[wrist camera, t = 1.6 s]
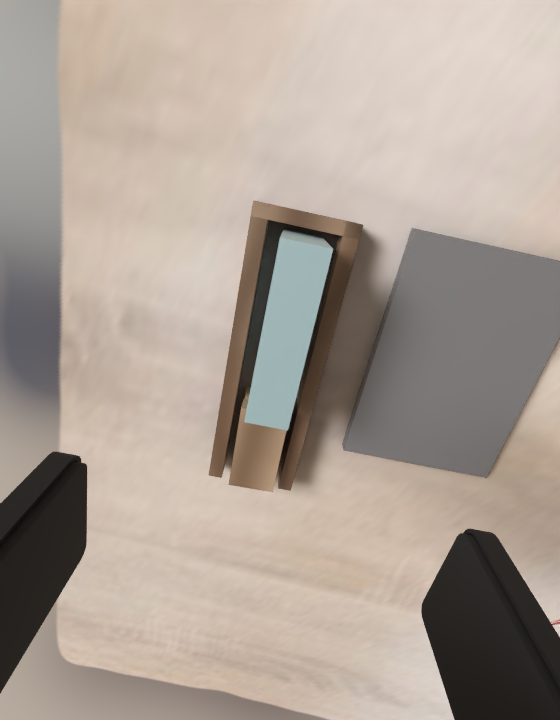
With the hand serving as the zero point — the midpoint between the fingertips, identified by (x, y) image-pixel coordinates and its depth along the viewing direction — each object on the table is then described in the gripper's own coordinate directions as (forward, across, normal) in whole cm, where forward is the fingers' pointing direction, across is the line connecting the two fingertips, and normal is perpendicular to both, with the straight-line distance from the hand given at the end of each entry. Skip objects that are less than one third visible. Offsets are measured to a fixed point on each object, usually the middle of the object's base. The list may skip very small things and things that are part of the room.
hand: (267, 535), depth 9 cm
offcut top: (+21, 0, +12) cm, 24 cm away
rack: (+23, 0, +4) cm, 24 cm away
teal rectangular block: (+23, 0, 0) cm, 23 cm away
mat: (+23, -15, +2) cm, 28 cm away
